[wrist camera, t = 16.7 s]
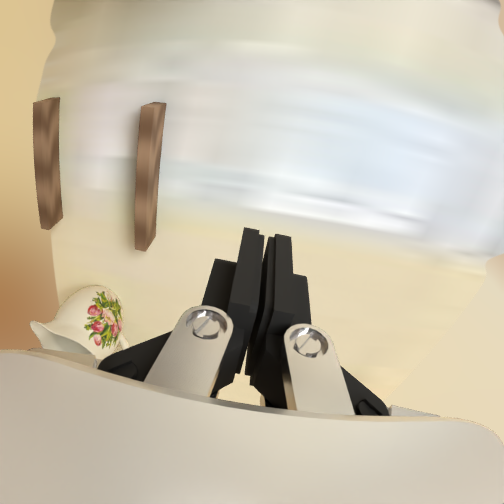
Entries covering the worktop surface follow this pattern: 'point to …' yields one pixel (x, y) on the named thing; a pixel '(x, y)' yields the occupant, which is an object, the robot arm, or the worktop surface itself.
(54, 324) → the pitcher
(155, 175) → the wooden planks
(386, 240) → the worktop surface
